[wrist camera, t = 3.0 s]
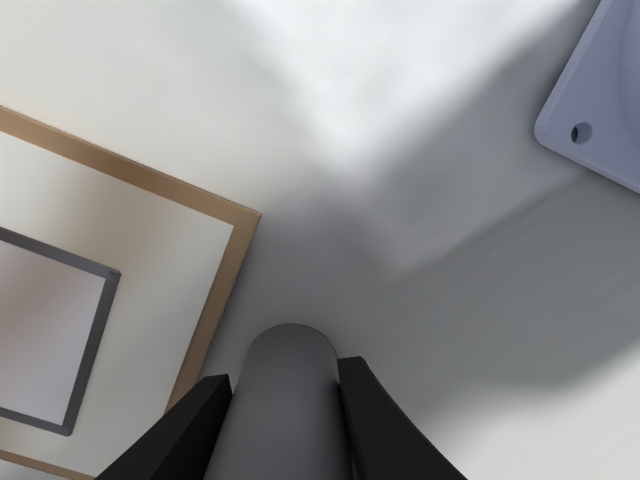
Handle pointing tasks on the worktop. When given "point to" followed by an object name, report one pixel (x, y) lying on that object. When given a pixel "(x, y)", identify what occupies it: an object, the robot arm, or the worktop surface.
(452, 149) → the worktop surface
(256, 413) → the marker
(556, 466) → the worktop surface
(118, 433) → the wooden framed board
